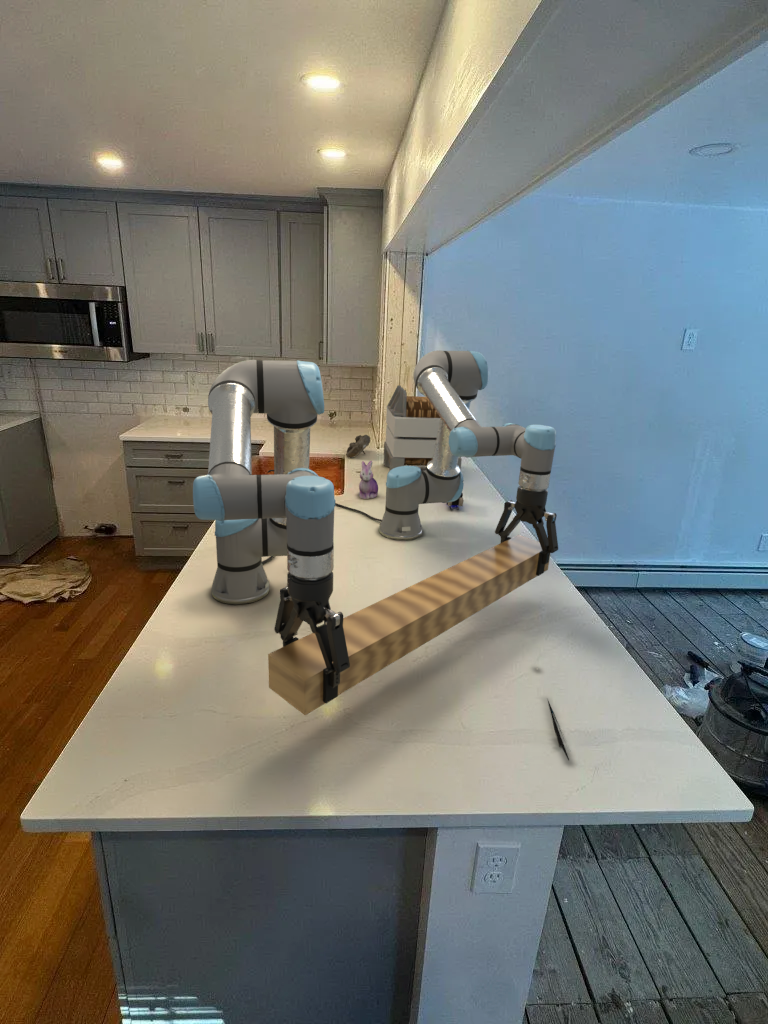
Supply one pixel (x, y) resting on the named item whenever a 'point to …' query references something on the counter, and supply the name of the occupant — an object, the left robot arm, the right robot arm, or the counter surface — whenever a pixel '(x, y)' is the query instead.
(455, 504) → the figurine character
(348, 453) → the fossil
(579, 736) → the counter surface
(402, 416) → the grey slatted crate
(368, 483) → the figurine
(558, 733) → the feather
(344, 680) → the long beam
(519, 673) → the counter surface
